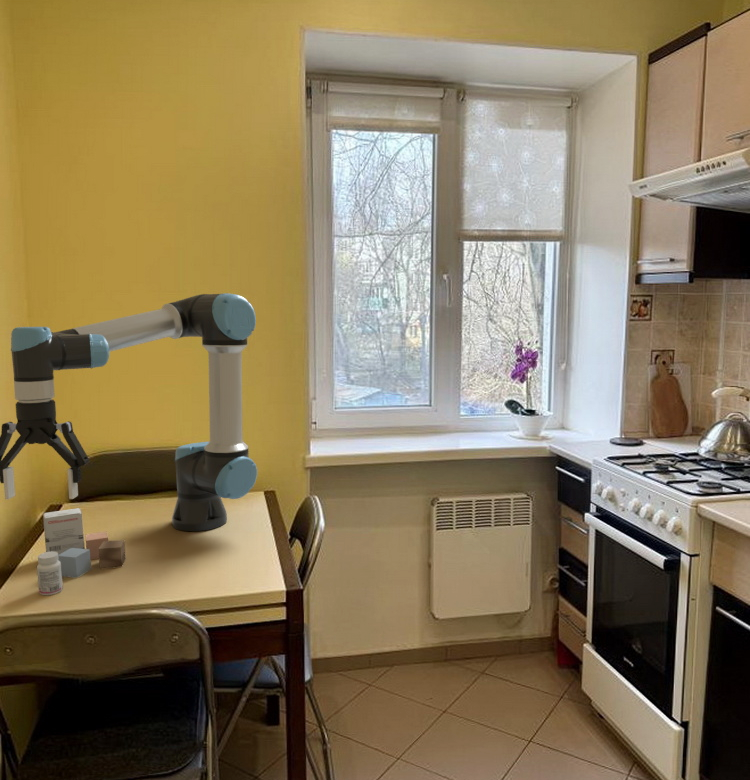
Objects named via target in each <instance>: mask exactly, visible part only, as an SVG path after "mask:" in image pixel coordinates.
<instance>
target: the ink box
mask: <svg viewBox="0 0 750 780" xmlns="http://www.w3.org/2000/svg"><path fill="white" fill-rule="evenodd" d="M42 515H43V529H44V533H43V534H44V544H45V552H51V551H54V552H57V553H58V555H59V554H61V553H63V552H65V551H67V550H69V549H70V548H79V549H86V546H85V536H84V524H83V523H84V522H83V512H82V510H81V508H80V507H76V508H70V509H62V510H57V511H55V510H54V511H50V512H43V514H42Z"/></svg>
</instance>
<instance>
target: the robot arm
mask: <svg viewBox="0 0 750 780" xmlns="http://www.w3.org/2000/svg"><path fill="white" fill-rule="evenodd" d="M256 316H257V315H256V312H255V309H254V307H253V306H252V304H251V303H250V302H249V301H248V300H247V299H246V298H245V297H243V296H242V295H239V294H237V293H236V294H234V293H227V292H226V293H210V294H209V293H201V294H197V295H196V294H195V295H193V296H190V297H186V298H183V299H180V300H176V301H172V302H168V303H165V304H163V306H162V307H161V308H160V309H155V310H151V311H150V310H149V311H146V312H141V313H136V314H132V315H128V316H122V317H117V318H114V319H113V318H112V319H109V320H103V321H100V322H95V323H91V324H86V325H81V326H77V327H73V328H70V329H64V330H58V331H55V332H52V330H51V328H50V327H49V326H17V327H15V328H13V329H12V331H11V333H10V335H11V336H10V351H11V360H12V370H13V371H12V372H13V383H14V384H13V385H14V386H13V387H14V399H15V400H16V401H17V402H16V403H15V414H16V416H15V417H16V419H17V422H16V423H14V422H12V421H7V422H5V423H2V424H1V432H0V433H1V434H0V484H3V486H4V487H3V489H4V490H3V491H4V499H5V500H10V499H12V498H14V497H16V489H15V488H16V487H15V486H16V484H15V474H14V466H10V465H11V463H12V462H13V461H14V459H16V457H17V456H18V454H19V453H20V452H21V451H22V449H24V447H25V445H27V444H28V445H34V444H38V445H45V444H47V445H48V446H49V447H51V448H52V449H53V450H54V452H55V451H56V453H57V454H58V455H59V456H60V457H61V459H63V460H64V462H66V463H67V465H68V466H69V468H67V483H68V484H67V485H68V486H67V487H68V497H69V500H73V499H75V498H77V497H79V487H78V483H80V482H81V480H82V469H81V467H83V466H85V465H87V464H88V463H90V458H89V457H88V455H87V452H86V451H85V449H84V448H83V446H82V444H81V442H80V441H79V439H78V437H77V436H76V433H75V432H74V429H73V428H74V427H73V423H72V421H66V422H60V423H58V421H57V409H56V407H57V406H56V401H55V399H53V398H55V396H56V395H55V394H56V393H55V382H54V381H55V380H54V379H55V376H54V371H62V370H79V369H82V370H83V369H94V368H100V367H101V368H102V367H104V366H106V364H107V363H108V361H109V359H110V353H111V352H113V351H118V350H121V349H126V348H130V347H133V346H137V345H141V344H145V343H150V342H153V341H158V340H161V339H165V338H170V339H173V340H177V339H180V338H181V339H182V338H188V337H190V338H191V337H199V338H200V337H201V340H202V341H201V342H202V343H201V344H202V347H203V348H204V349H205V350H206V351H207V353H208V405H209V407H208V409H209V413H208V415H209V419H208V420H209V441H201V442H194V443H188V444H187V443H186V444H184V445H180V446H178V447H177V448H176V449H175V457H174V462H175V473H176V474H175V475H176V489H177V490H176V493H177V494H176V496H177V499H176V503H175V506H174V509H173V514H172V516H171V520H172V521H171V525H172V527H173V528H174V529H176V530H179V531H184V532H203V531H208V530H212V529H217V528H220V527H221V526H223V525H225V524H226V523H227V522H228V512H227V509H226V507H225V504H224V502H223V500H222V499H229V500H237V499H238V500H239V499H241V498H243V497H245V496H246V495H247V494H248V493H250V490H251V489H253V487H254V486H255V484H256V481H257V478H258V468H257V465H256V463H255V462H254V460H253V459H252V458H250V457H249V445H248V444H246V443H245V442H244V439H243V438H244V437H243V365H242V364H243V361H242V360H243V359H242V353H243V351H244V350H245V349H246V348H247V347H248V338H249V337H250V336H251V335H253V333H252V332H253V331H254V330H255V328H256V325H257V317H256ZM57 431H59V433H61V434H62V436H63V439H64V440H65V441H66V443H67V445H68V447H69V448H68V447H67V445H66V444H65V443H64V442H63V441H62V439H61V437H60V436H59V435H58V434H57ZM15 432H17V433H18V435H19V437H17V439H16V440H15V441H14V444H13V445H12V446H11V447H10V449H9V450H8V451H7V453H6V450H7V448H8V446H9V443H10V441H11V439H12V436H13V434H14V433H15ZM5 453H6V454H5Z"/></svg>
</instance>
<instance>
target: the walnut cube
mask: <svg viewBox="0 0 750 780" xmlns="http://www.w3.org/2000/svg"><path fill="white" fill-rule="evenodd" d="M126 558H127V557H126V545H125V539H119V540H118V539H117V540H116V539H115V540H108V541H103V542H102V544H101V546H100V547H99V558H98V560H99V569H100V570H101V569H111V568H113V567H115V568H123V566H122V565H124V564H125V561H126ZM123 563H124V564H123ZM113 569H114V568H113Z"/></svg>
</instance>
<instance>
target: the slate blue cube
mask: <svg viewBox="0 0 750 780" xmlns="http://www.w3.org/2000/svg"><path fill="white" fill-rule="evenodd" d="M58 557H59V558H58V560H59V561H60V563H61V573H62V577H63V578H65V577H66V578H75V579H77V578H80V577H81V576H82V575H85V574H86V573H87V572H90V571H91V570H92V561H91V560H92V559H90V550H89V549H86V548H85V549H79V548H70V549H69V550H67V551H65V552H63V553H61V554H59V555H58Z"/></svg>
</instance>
